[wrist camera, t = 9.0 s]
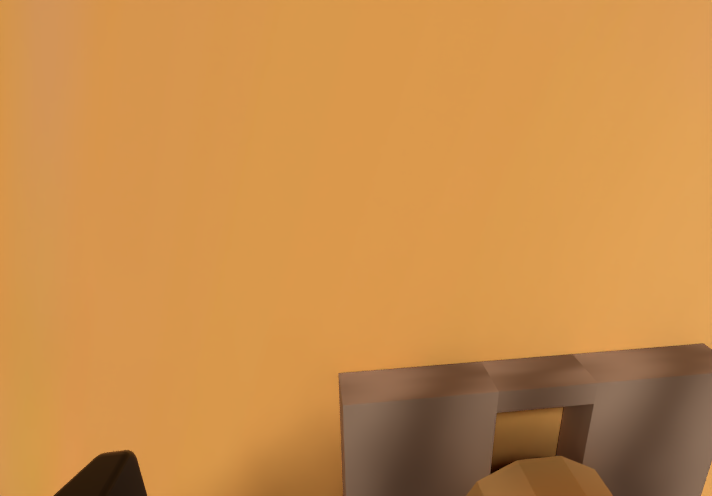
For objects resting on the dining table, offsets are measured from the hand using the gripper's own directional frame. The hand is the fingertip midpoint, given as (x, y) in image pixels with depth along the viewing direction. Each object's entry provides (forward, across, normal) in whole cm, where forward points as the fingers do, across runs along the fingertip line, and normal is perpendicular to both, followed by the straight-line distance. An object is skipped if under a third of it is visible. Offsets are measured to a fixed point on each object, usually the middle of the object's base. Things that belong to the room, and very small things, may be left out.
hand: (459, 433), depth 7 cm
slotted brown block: (+12, -6, +15) cm, 20 cm away
